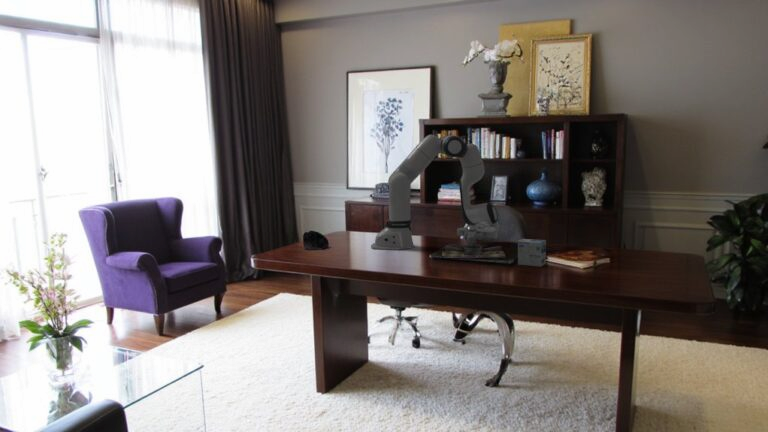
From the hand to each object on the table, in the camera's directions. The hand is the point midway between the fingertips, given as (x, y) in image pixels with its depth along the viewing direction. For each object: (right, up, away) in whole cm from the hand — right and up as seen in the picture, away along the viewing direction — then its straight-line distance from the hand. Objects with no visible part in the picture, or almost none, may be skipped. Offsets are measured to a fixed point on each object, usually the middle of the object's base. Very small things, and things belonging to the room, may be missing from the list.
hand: (471, 235), depth 274 cm
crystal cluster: (-79, -8, +21) cm, 82 cm away
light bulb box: (+22, -12, -30) cm, 39 cm away
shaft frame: (-1, -10, -11) cm, 15 cm away
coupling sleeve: (+1, -5, +2) cm, 6 cm away
